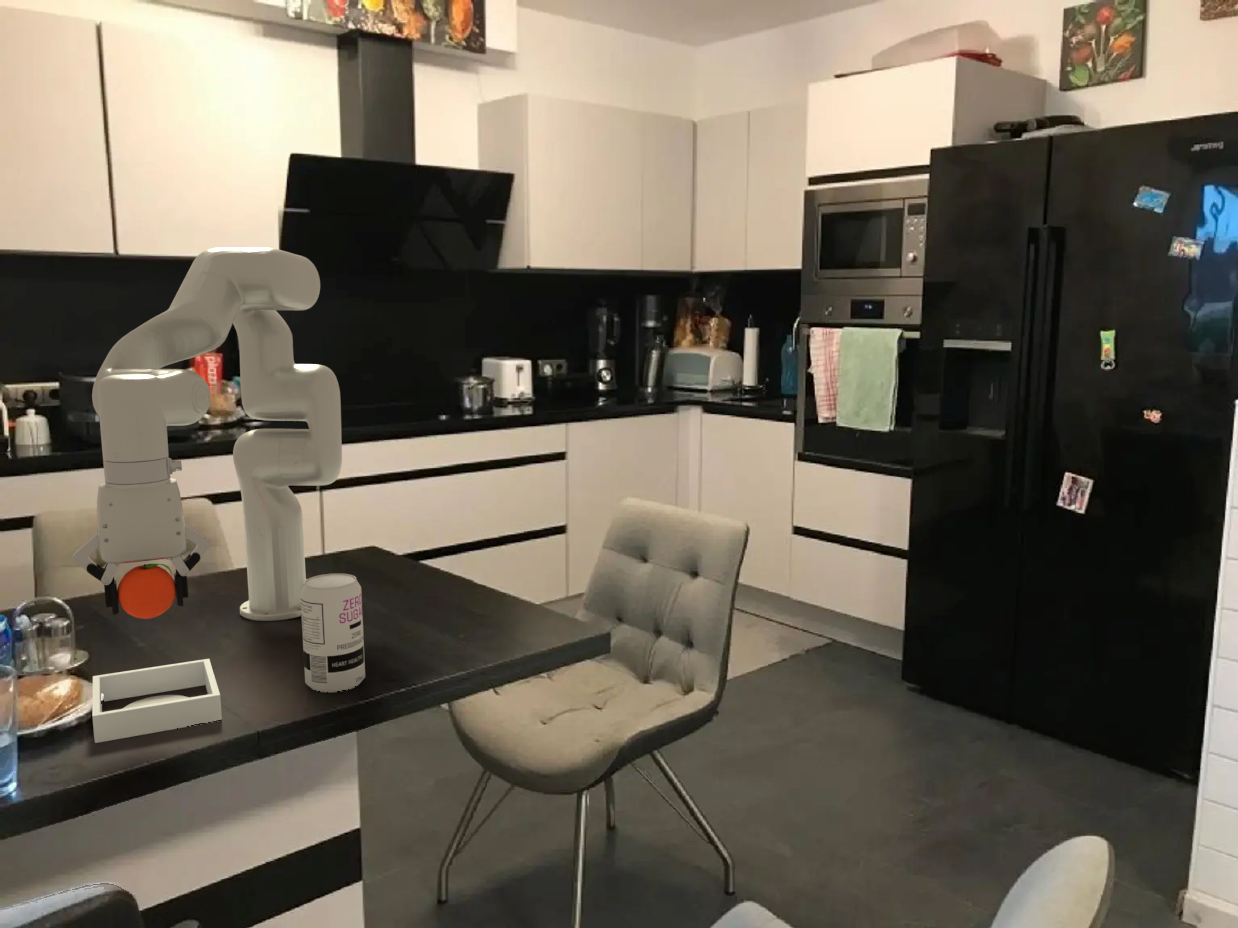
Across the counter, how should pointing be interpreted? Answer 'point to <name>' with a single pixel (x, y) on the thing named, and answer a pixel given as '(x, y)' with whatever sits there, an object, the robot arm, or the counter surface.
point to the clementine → (146, 591)
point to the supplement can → (332, 632)
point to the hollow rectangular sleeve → (154, 700)
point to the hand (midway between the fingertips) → (148, 606)
